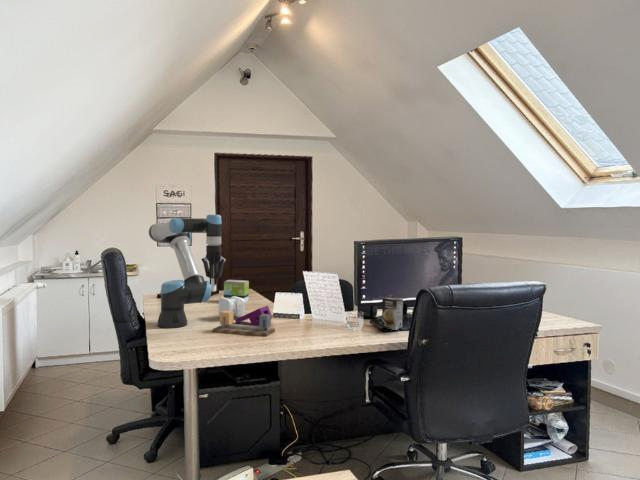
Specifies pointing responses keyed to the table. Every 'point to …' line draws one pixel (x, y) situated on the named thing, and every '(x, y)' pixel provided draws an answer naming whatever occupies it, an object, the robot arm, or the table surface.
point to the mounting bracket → (254, 316)
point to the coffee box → (392, 312)
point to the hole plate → (243, 331)
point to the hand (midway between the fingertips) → (213, 290)
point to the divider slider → (226, 318)
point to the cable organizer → (232, 305)
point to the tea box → (236, 289)
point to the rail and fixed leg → (263, 325)
